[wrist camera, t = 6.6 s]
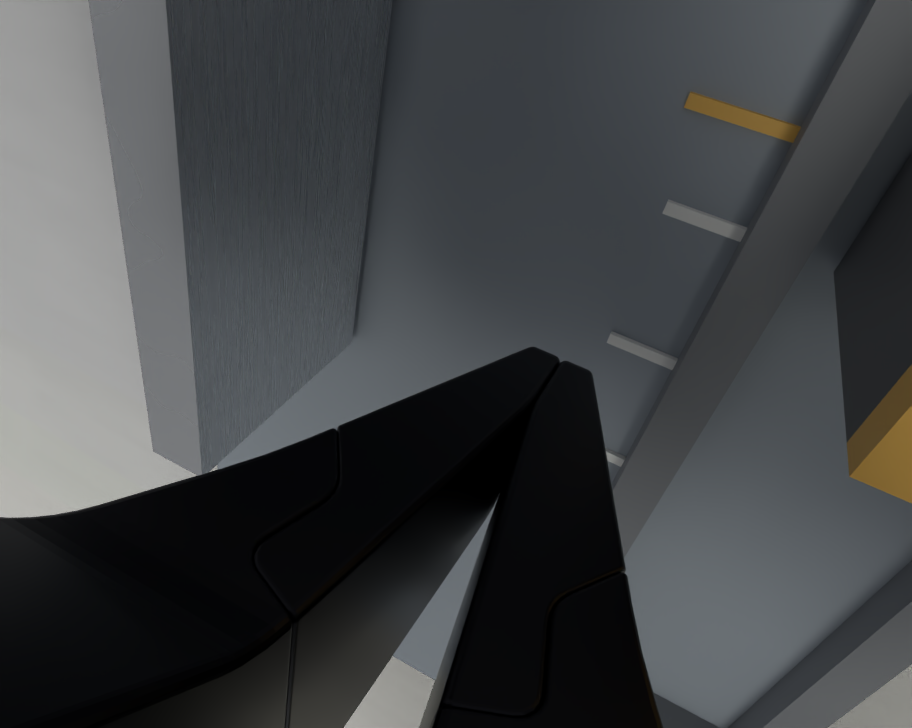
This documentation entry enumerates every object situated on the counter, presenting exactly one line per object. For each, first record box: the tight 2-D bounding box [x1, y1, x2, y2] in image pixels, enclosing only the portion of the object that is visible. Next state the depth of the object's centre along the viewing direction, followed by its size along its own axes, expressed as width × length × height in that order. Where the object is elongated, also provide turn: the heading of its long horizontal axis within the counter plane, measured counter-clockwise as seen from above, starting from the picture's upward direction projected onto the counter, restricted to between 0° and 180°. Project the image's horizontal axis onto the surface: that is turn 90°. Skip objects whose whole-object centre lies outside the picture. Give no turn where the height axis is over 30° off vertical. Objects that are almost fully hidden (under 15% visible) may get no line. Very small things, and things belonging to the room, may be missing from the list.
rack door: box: [89, 0, 392, 475], centre depth 9 cm, size 10×2×4 cm, turn 168°
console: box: [217, 0, 912, 728], centre depth 12 cm, size 22×16×6 cm
